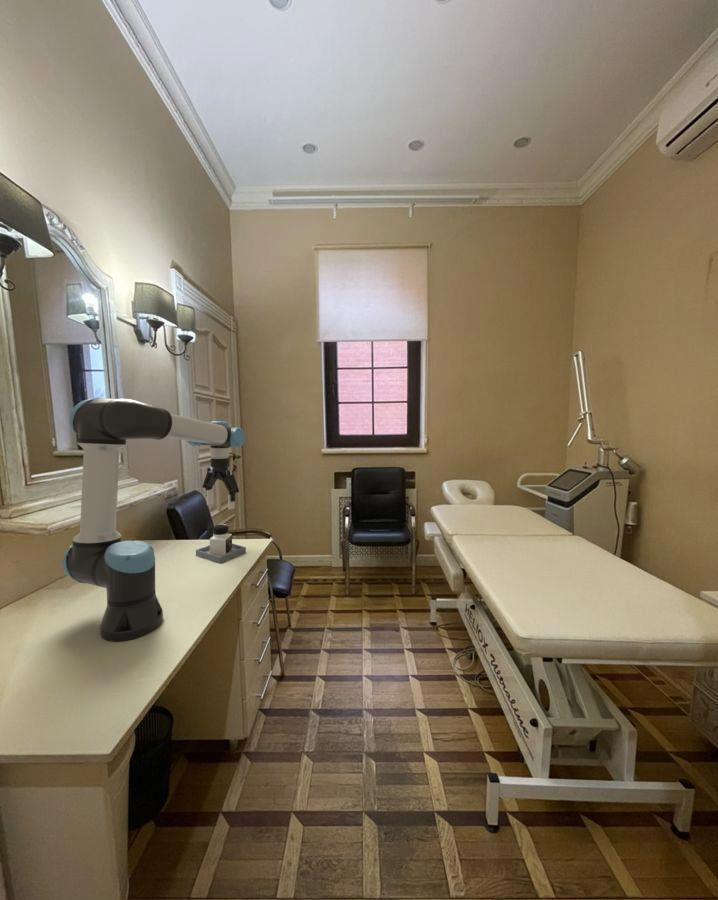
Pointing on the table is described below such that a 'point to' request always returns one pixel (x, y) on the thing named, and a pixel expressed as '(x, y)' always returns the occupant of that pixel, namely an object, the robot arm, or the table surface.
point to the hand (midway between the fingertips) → (220, 506)
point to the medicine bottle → (220, 540)
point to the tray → (233, 553)
